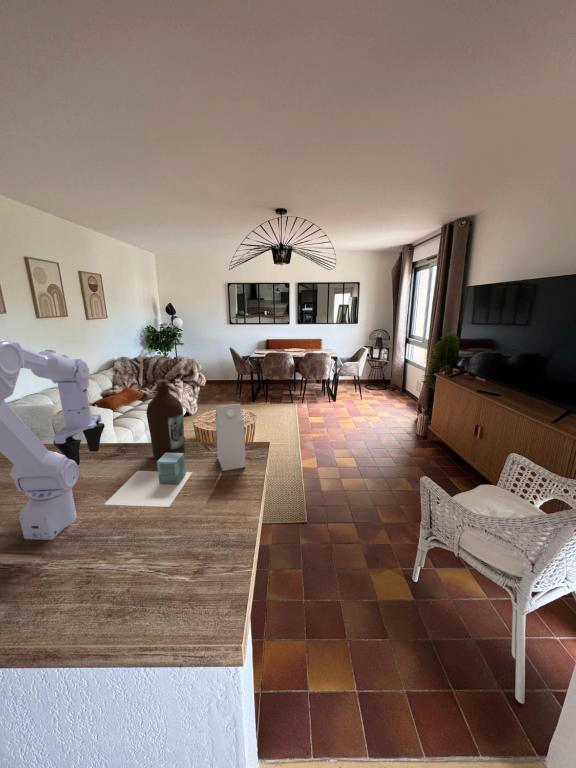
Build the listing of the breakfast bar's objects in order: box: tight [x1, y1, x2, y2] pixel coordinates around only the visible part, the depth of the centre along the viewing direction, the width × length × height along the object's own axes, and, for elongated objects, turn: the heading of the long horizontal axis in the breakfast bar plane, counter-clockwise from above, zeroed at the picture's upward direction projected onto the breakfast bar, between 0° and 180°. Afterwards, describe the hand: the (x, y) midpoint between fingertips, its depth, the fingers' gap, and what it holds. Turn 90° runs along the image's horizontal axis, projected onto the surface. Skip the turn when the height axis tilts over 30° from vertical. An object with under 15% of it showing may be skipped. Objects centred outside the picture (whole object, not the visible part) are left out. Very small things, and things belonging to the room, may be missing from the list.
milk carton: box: [214, 403, 246, 472], centre depth 97 cm, size 7×7×19 cm
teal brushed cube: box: [156, 453, 187, 485], centre depth 88 cm, size 5×5×7 cm
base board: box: [103, 470, 193, 508], centre depth 85 cm, size 16×16×1 cm
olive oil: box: [145, 379, 186, 460], centre depth 101 cm, size 11×11×25 cm
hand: (84, 457), depth 84 cm, fingers open, 7 cm apart
